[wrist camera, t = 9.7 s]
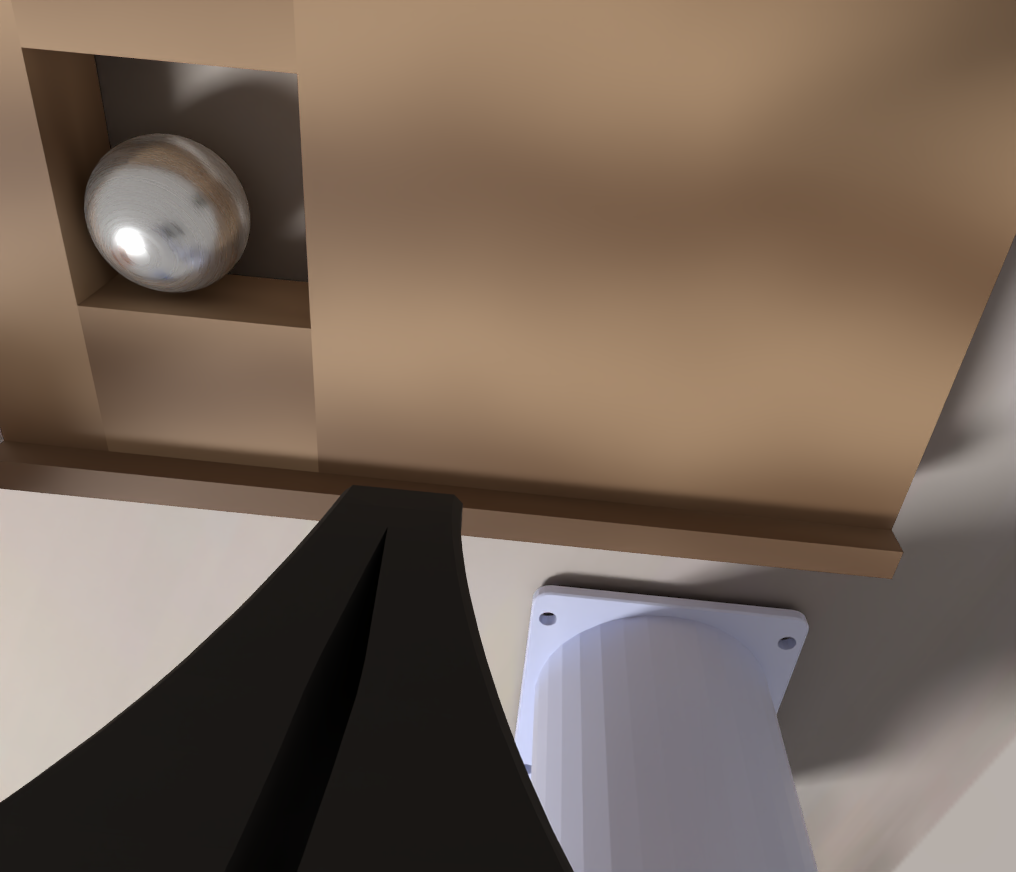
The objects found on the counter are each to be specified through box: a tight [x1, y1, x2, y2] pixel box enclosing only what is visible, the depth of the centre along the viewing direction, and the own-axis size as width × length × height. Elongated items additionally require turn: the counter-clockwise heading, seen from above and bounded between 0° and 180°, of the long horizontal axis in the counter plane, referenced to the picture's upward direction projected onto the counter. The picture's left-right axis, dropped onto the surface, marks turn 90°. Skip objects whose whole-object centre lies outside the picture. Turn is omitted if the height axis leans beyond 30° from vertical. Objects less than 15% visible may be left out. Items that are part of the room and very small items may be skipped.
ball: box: [84, 133, 250, 292], centre depth 17 cm, size 3×3×3 cm
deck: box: [0, 0, 1016, 579], centre depth 17 cm, size 14×21×3 cm, turn 85°
